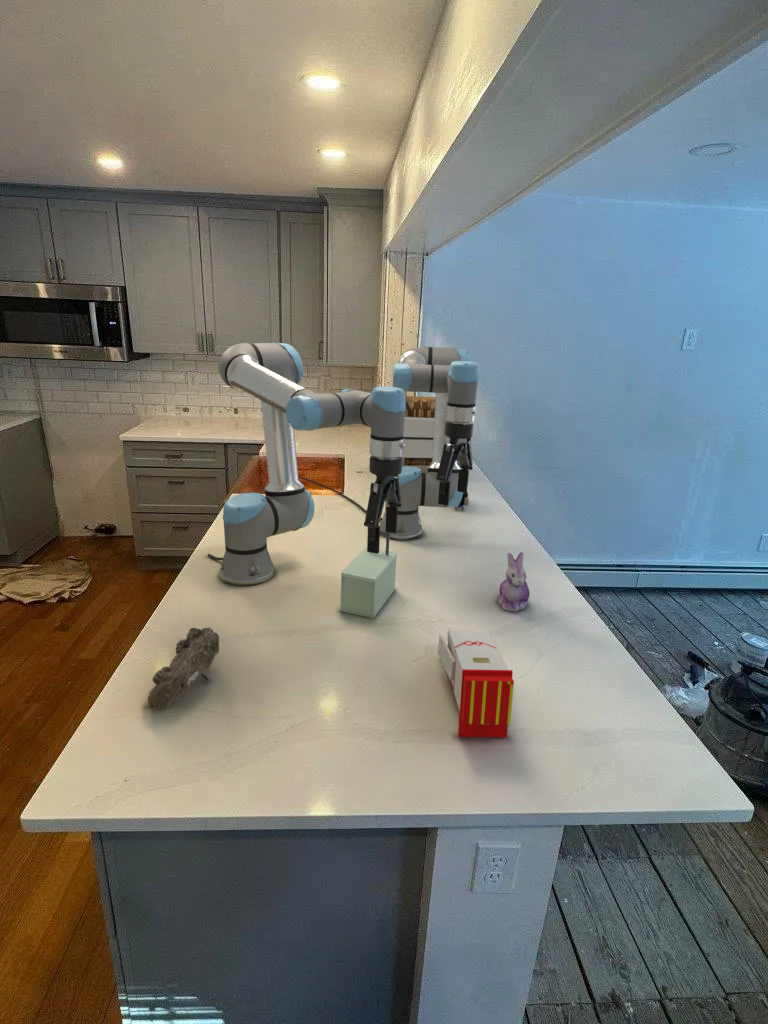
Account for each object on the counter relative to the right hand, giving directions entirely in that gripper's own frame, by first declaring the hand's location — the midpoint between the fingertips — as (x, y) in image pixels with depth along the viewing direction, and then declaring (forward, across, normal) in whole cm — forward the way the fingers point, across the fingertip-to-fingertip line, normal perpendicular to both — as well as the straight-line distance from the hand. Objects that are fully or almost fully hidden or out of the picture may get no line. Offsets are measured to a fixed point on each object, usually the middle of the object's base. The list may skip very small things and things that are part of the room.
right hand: (452, 498), depth 157 cm
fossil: (+26, -72, +27) cm, 81 cm away
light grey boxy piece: (+26, +101, +57) cm, 119 cm away
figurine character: (+26, +66, +23) cm, 75 cm away
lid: (+16, -21, +13) cm, 30 cm away
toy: (+26, -44, -24) cm, 57 cm away
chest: (+26, -22, +13) cm, 36 cm away
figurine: (+26, -2, -21) cm, 33 cm away
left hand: (+4, -29, +6) cm, 30 cm away
